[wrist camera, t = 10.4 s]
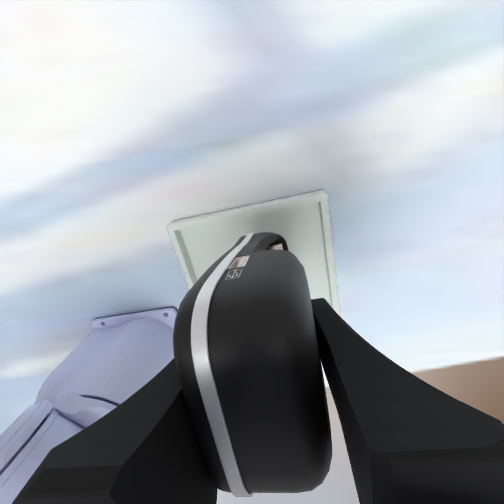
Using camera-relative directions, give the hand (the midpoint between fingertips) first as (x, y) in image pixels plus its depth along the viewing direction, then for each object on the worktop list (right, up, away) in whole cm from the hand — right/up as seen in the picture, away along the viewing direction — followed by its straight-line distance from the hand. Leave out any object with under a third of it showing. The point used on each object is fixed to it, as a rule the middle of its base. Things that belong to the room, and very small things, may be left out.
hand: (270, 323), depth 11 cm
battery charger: (+1, +2, +6) cm, 6 cm away
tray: (0, +1, +11) cm, 11 cm away
